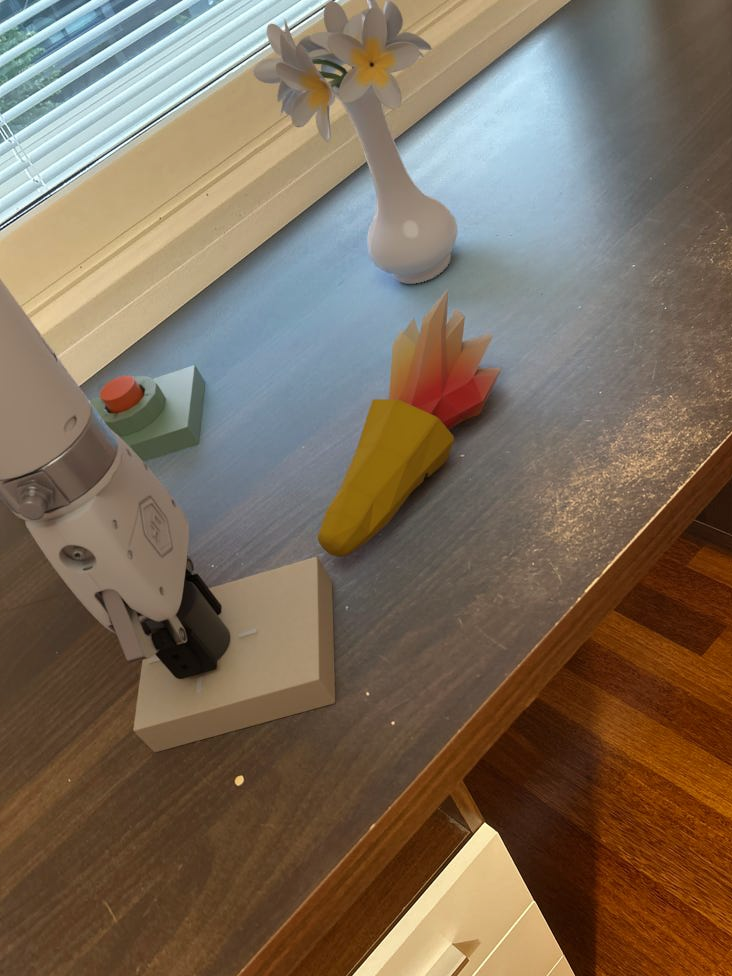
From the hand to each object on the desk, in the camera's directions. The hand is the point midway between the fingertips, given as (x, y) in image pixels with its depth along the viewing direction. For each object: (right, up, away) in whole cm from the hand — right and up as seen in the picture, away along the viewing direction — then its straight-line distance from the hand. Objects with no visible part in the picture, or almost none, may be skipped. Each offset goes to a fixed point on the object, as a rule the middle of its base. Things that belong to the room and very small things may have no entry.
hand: (199, 641), depth 74 cm
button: (-13, +23, +24) cm, 35 cm away
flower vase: (+14, +38, +31) cm, 51 cm away
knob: (0, 0, 0) cm, 1 cm away
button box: (-12, +21, +26) cm, 36 cm away
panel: (+3, -2, +2) cm, 4 cm away
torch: (+15, +15, +11) cm, 24 cm away
